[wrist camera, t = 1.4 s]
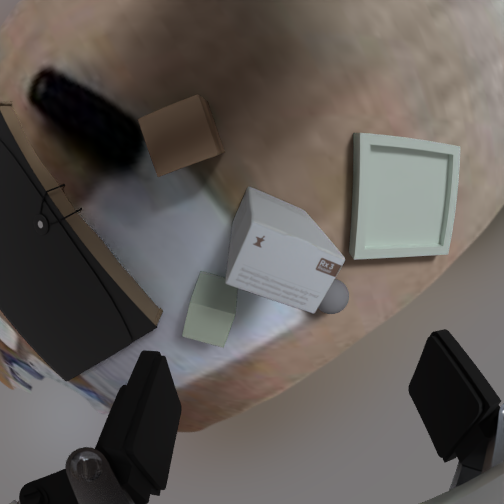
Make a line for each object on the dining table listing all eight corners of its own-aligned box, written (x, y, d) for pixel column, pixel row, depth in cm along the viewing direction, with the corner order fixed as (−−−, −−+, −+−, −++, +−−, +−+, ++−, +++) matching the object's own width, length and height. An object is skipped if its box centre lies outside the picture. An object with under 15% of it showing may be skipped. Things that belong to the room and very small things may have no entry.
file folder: (157, 328, 28) (61, 385, 34) (167, 307, 32) (72, 368, 37) (-7, 98, 18) (-57, 224, 23) (15, 98, 21) (-42, 216, 27)
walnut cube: (157, 121, 24) (137, 119, 19) (208, 102, 23) (197, 94, 19) (174, 170, 26) (157, 177, 21) (224, 152, 25) (218, 154, 20)
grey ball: (312, 273, 29) (319, 290, 26) (345, 271, 29) (355, 288, 26) (310, 303, 31) (316, 322, 27) (341, 300, 31) (350, 319, 27)
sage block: (200, 270, 29) (190, 301, 24) (238, 281, 30) (235, 314, 24) (192, 302, 31) (181, 336, 25) (228, 312, 31) (223, 347, 26)
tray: (353, 132, 24) (360, 132, 22) (450, 145, 24) (460, 146, 22) (348, 252, 29) (354, 259, 27) (439, 248, 28) (447, 254, 27)
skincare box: (231, 225, 28) (217, 288, 16) (249, 182, 26) (246, 217, 15) (289, 248, 28) (312, 321, 17) (309, 207, 27) (348, 259, 16)
